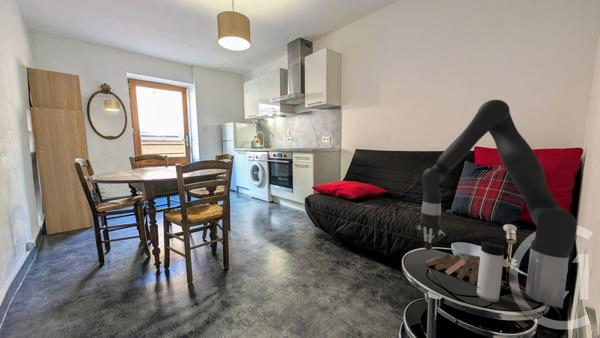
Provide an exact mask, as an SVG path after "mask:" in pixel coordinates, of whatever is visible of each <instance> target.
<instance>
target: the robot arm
mask: <svg viewBox="0 0 600 338" xmlns="http://www.w3.org/2000/svg"><path fill="white" fill-rule="evenodd" d="M488 132H489V134H490V135H491V137H492V139H493V141H494V142H495V146H496V150H497V153H498V155H499V158H500V160H501V162H502V164H503V166H504V168H505V171H506V173H507V174H508V175H509V178H510V179H511V181H512V182H513V183H514V184H513V185H515V187H516V188H517V190H518V191H519V193H520V194H521V196H522V197H523V199H524V202H525V204H526V207H527V210H528V212H529V215H530V217H531V220H532V223H534V225H536V230H535V237H534V239H532V240H531V242H530V248H529V257H528V259H529V260H528V268H527V277H526V286H525V294H526V296H528V297H529V298H530V299H532V300H534V301H536V302H537V303H540V302H543V303H546V304H547V305H546V304H545V305H546V306H549V307H554V308H555V307H556V308H559V309H563V307H564V299H565V294H566V293H565V292H566V283H567V276H568V275H567V273H568V267H569V261H570V260H569V259H570V253H571V252H572V251H573V249H574V246H575V241H576V237H577V236H576V235H577V231H578V230H577V229H578V228H577V227H578V225H577V224H578V223H577V219H576V218H575V217H574V215H573V214H572V213H571V212H569V211H567V210H565V209H562V207H561V206H560V205H559V204H558V202H557V201H556V200H555V198H554V196H553V194H552V193H551V192H550V189H549V188H548V184H547V178H546V173H545V170H544V168H543V166H542V164H541V162H540V160H539V158H538V157H537V155H536V154H535V152H534V150H533V149H532V147H531V146H530V145H529V143H528V142H527V141H526V140H525V138H524V137H523V136H522V135H521V134H520V132H519V131H518V129H517V128H516V124H515V123H514V121H513V118H512V115H511V112H510V106H509V104H508V103H507V102H505V101H504V100H501V99H490V100H488V101H486V102H484V103H483V104H482V105H480V107H479V108H478V110H477V112H476V114H475V115H474V117H473V118H472V120H470V122H469V124H468V125H467V126H466V127H465V129H464V130H463V131H462V132H461V133H460V135H458V137H456V139H455V140H454V141H453V142H452V143H450V145H449V146H447V148H446V149H445V150H444V151H443V152H442V153H441V154H440V155H439V157H438V159H437V161H436V163H435V164H434V165H433V166H432V167H428V168H426V169H425V170H424V171H423V173H422V177H421V180H422V181H421V182H422V190H423V195H422V204H421V212H420V222H419V225H415V226H414V229H415V232H416V233H417V235H418V236H419V238H420V239H421V240H423V241H424V245H423V246H424V250H426V251H430V250H432V249H433V243H437V242H438V241H440V240H441V239H442V238H444V237H445V236H446V232H443V231H442V230H441V229H442V228H441V225H440V224H441V215H442V192H441V190H440V183H441V182H442V181H444V180H445V178H447V177H448V176H449V174H450V173H451V171H452V170H453V169H454V168H455V167H456V166H457V165H458V164H459V163H460V162H461V161H462V160H463V159H465V157H466V156H467V155H468V153H470V152H471V150H472V149H473V147H475V145H476V144H477V143H478V142H479V141H480V140H481V139H482V137H484V136H485V135H486V134H487V133H488ZM436 234H437V235H438V236H436V237H435V235H436ZM543 303H542V304H543Z"/></svg>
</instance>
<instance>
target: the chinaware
mask: <svg viewBox="0 0 600 338" xmlns="http://www.w3.org/2000/svg"><path fill="white" fill-rule="evenodd" d="M450 247H451V252H452V253H453V257H454V256H456V255H458V256H459V257H460V259H461V258H463V257H464V256H465V255H466V256H467V257H468V258H470V257H471V256H474V257H475V258H477V257H479V258H480V253H481V245H477V244H473V243H468V242H460V241H459V242H458V241H457V242H452V243H451V246H450ZM464 265H465V264H463V265H462V267H463V266H464ZM472 267H473V265H472V266H471V268H470V270H472Z"/></svg>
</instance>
